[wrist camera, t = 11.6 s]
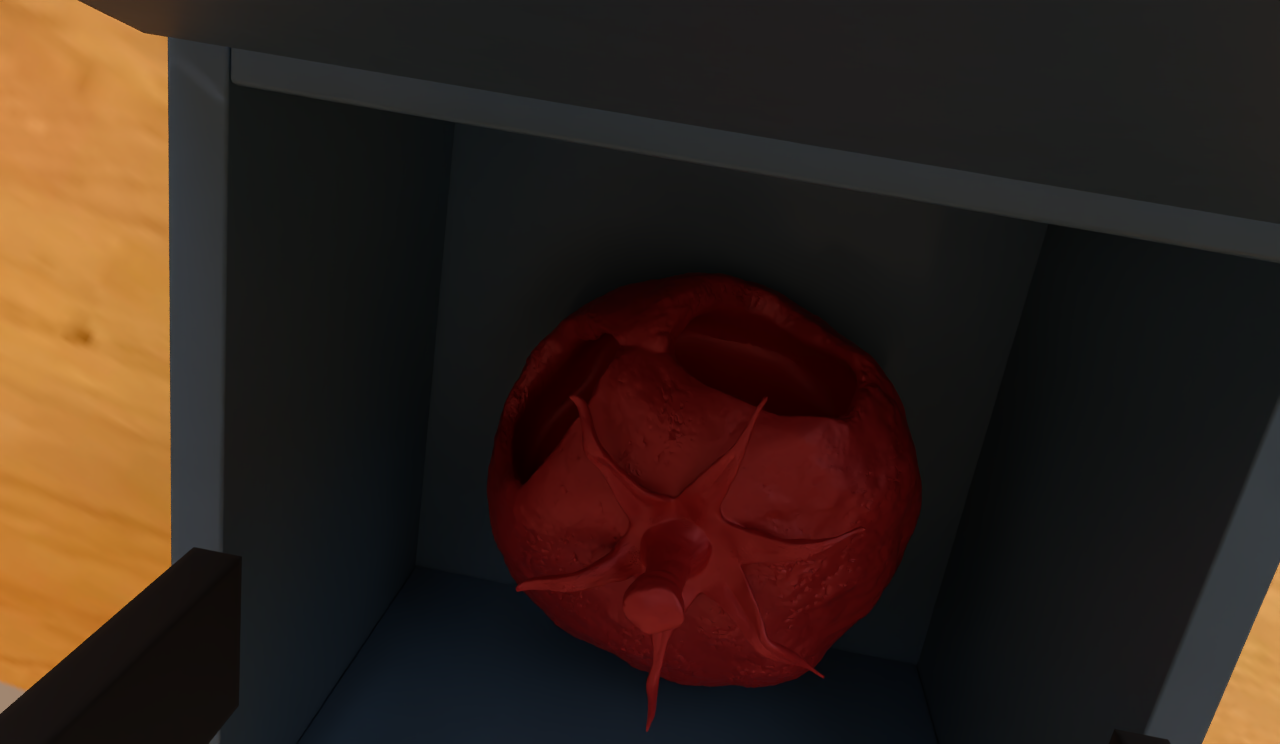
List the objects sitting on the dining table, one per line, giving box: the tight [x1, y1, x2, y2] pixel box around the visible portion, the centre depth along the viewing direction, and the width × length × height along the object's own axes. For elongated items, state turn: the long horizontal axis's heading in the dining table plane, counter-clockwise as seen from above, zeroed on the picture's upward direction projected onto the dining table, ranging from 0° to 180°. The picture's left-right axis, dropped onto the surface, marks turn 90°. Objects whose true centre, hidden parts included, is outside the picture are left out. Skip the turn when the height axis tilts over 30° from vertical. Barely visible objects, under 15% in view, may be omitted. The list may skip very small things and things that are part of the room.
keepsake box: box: [168, 37, 1280, 744], centre depth 20 cm, size 16×17×12 cm
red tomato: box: [487, 272, 922, 732], centre depth 21 cm, size 10×10×9 cm
